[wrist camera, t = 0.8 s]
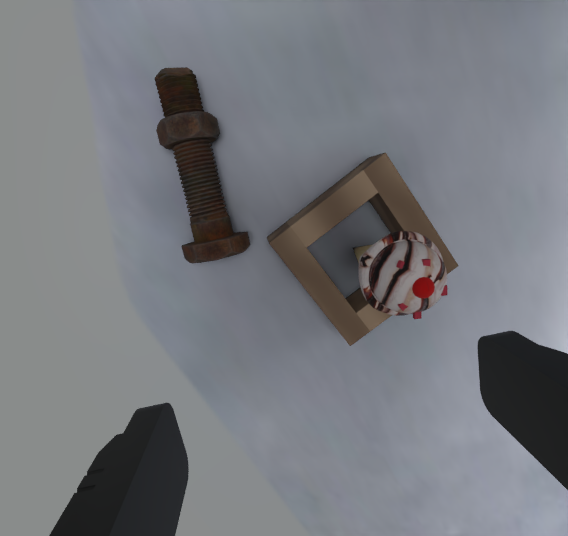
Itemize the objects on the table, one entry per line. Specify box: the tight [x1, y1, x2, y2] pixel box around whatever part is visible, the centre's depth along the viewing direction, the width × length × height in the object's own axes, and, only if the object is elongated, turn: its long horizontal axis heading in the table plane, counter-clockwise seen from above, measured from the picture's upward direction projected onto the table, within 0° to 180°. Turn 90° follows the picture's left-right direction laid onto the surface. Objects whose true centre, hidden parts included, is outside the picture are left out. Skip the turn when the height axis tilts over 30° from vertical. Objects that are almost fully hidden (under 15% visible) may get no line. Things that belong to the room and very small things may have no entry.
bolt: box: [155, 68, 250, 263], centre depth 29 cm, size 6×5×15 cm
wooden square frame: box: [267, 153, 458, 346], centre depth 32 cm, size 12×12×4 cm
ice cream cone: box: [353, 231, 447, 319], centre depth 27 cm, size 6×6×15 cm
